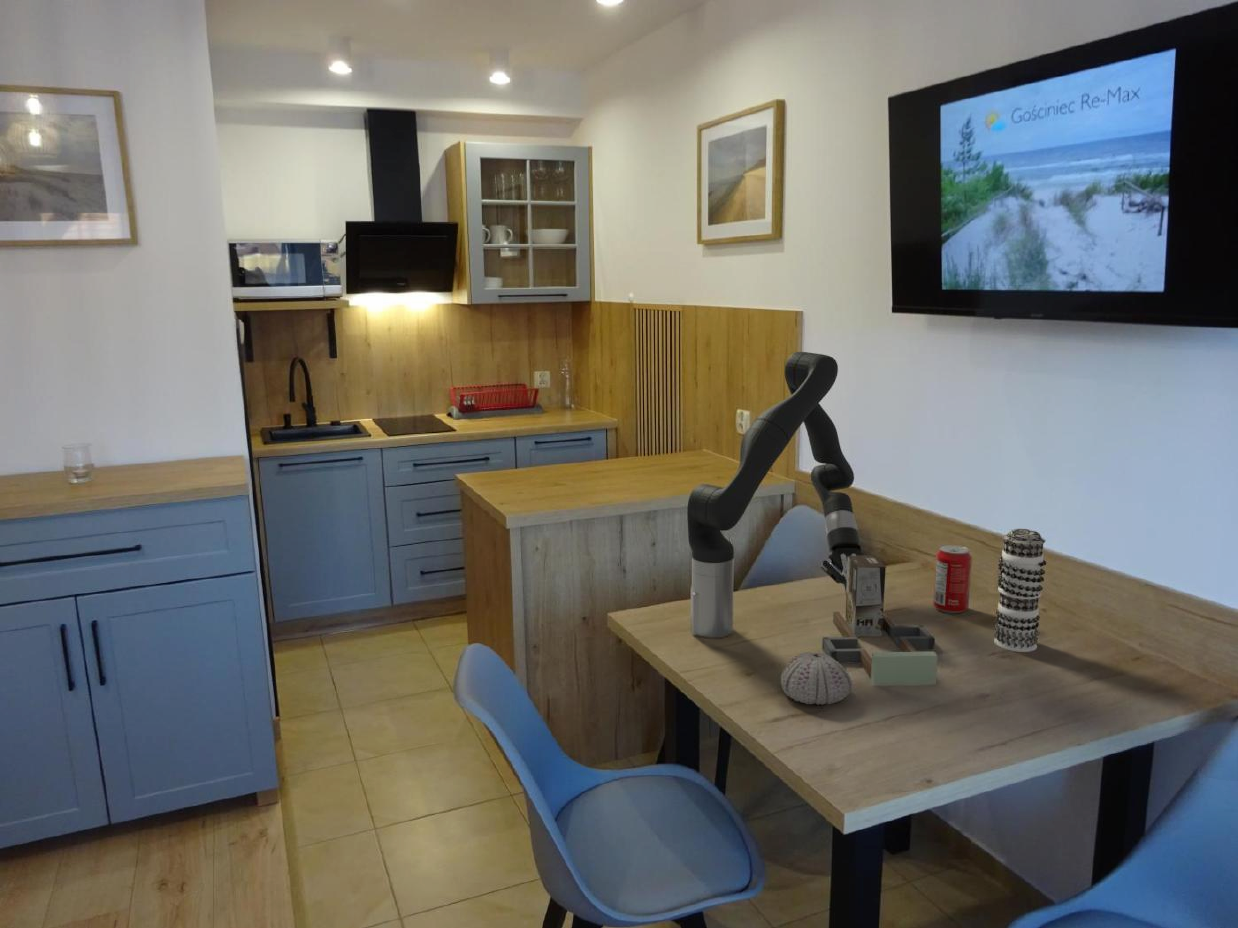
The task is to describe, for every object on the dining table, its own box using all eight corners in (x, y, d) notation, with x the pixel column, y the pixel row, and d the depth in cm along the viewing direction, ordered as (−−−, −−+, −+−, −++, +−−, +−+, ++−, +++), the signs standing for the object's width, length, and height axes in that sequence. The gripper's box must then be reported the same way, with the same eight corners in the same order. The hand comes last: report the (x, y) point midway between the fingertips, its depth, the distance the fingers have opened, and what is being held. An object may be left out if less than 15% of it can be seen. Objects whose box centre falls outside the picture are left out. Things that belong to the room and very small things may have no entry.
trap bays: (830, 662, 181) (831, 651, 180) (815, 637, 194) (816, 626, 194) (944, 661, 181) (945, 649, 181) (921, 635, 194) (922, 625, 194)
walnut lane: (874, 684, 171) (875, 672, 170) (833, 621, 203) (833, 611, 202) (933, 683, 171) (934, 671, 171) (882, 621, 203) (883, 610, 202)
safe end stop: (873, 685, 170) (875, 656, 169) (870, 681, 172) (872, 652, 171) (935, 684, 171) (937, 655, 169) (932, 680, 172) (933, 651, 171)
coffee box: (883, 637, 194) (886, 566, 191) (853, 637, 194) (856, 566, 191) (872, 621, 203) (875, 554, 200) (844, 621, 203) (847, 554, 200)
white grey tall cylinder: (1017, 633, 195) (1026, 524, 190) (1048, 649, 186) (1059, 535, 181) (982, 638, 192) (990, 528, 187) (1013, 655, 184) (1022, 539, 179)
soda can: (928, 611, 209) (932, 550, 206) (938, 601, 215) (941, 542, 212) (963, 617, 204) (967, 555, 202) (971, 607, 211) (976, 547, 208)
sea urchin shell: (766, 696, 167) (767, 657, 165) (801, 673, 177) (802, 635, 175) (830, 718, 158) (832, 676, 157) (863, 691, 168) (865, 652, 167)
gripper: (817, 526, 212) (828, 591, 203) (872, 525, 213) (885, 590, 203) (812, 541, 219) (822, 605, 209) (865, 540, 219) (877, 604, 209)
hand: (853, 598), depth 206 cm, fingers closed
